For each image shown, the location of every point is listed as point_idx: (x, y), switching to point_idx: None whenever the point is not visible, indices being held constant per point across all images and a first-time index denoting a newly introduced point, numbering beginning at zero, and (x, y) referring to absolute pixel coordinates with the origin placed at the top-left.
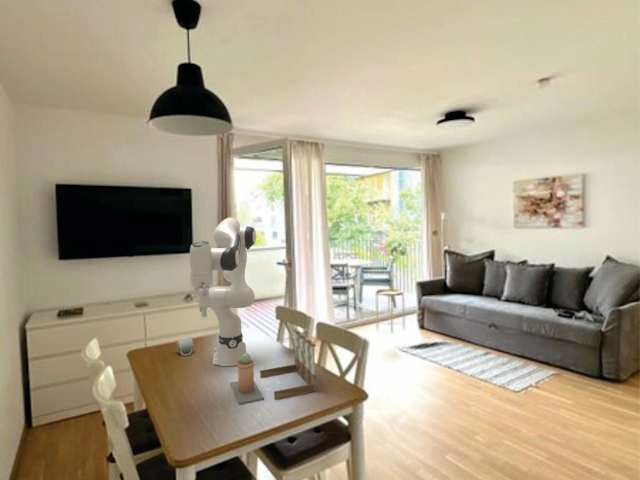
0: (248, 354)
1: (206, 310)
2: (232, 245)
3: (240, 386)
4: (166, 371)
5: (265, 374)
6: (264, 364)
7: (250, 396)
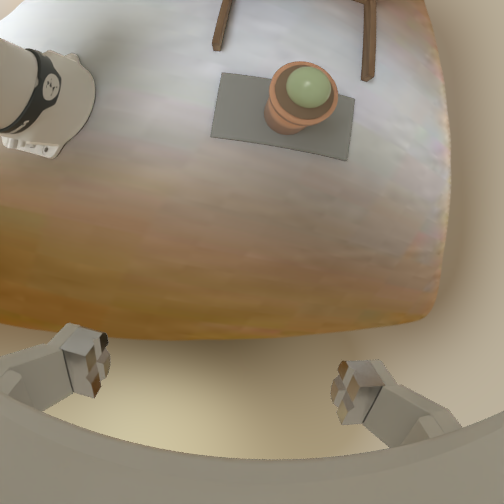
0: (322, 73)
1: (427, 403)
2: None
3: (298, 131)
4: (48, 278)
5: (222, 37)
6: (138, 23)
7: (331, 121)
